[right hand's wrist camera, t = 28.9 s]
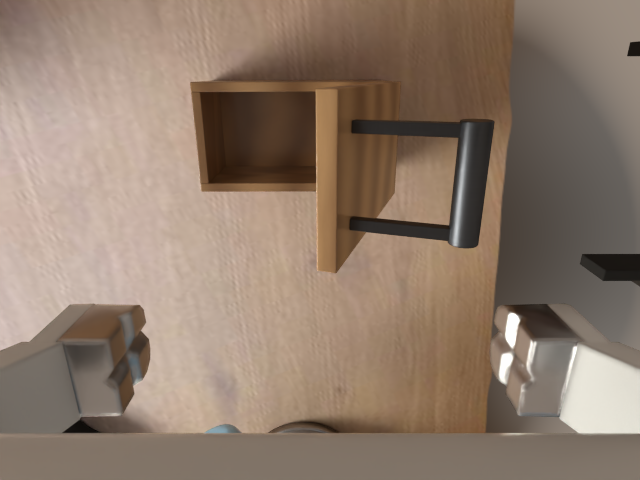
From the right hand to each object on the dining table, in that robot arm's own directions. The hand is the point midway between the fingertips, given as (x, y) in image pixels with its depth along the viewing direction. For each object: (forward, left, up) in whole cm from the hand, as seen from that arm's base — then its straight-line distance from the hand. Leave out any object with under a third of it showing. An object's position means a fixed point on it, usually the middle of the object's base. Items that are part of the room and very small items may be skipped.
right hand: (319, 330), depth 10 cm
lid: (+1, +2, -22) cm, 22 cm away
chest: (-1, -2, -40) cm, 40 cm away
